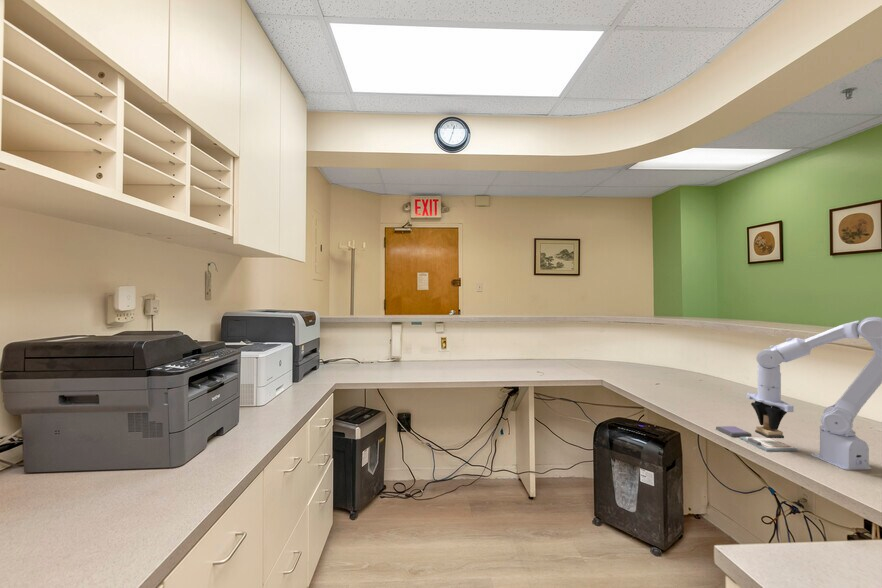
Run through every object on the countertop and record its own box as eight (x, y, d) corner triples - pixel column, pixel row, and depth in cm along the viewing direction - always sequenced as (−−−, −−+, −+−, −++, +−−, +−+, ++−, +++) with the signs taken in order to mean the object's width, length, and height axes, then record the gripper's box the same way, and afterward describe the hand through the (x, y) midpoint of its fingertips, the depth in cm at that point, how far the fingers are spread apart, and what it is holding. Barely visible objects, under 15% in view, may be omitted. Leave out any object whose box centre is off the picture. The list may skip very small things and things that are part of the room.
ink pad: (751, 436, 127) (751, 433, 127) (731, 436, 127) (731, 433, 127) (734, 429, 134) (734, 425, 134) (716, 429, 134) (716, 426, 134)
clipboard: (797, 450, 116) (797, 446, 116) (766, 451, 116) (766, 446, 116) (768, 438, 126) (768, 434, 126) (739, 438, 126) (739, 434, 126)
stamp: (783, 438, 118) (784, 418, 118) (768, 438, 118) (768, 418, 118) (770, 432, 123) (770, 413, 123) (755, 432, 123) (755, 412, 123)
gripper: (738, 380, 128) (738, 419, 128) (778, 391, 113) (777, 435, 113) (758, 380, 128) (757, 419, 128) (800, 391, 113) (800, 435, 114)
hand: (768, 426), depth 121 cm, fingers closed on stamp, 3 cm apart
